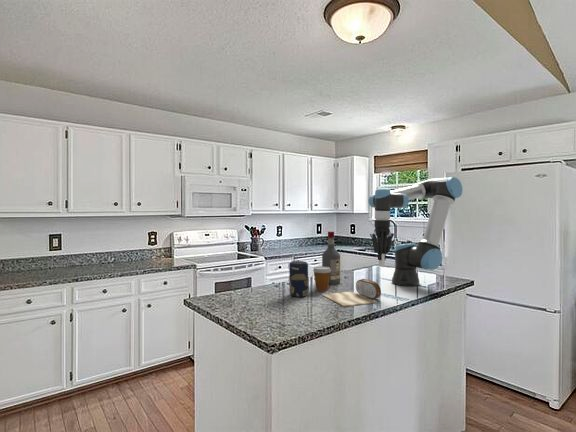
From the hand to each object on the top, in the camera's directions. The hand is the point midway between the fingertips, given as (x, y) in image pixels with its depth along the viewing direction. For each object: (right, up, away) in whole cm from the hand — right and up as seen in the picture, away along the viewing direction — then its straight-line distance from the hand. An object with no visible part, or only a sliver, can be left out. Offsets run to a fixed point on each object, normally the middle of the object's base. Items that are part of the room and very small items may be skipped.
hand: (381, 266), depth 176 cm
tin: (-8, -15, -2) cm, 17 cm away
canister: (-42, -15, +1) cm, 44 cm away
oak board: (-18, -15, -6) cm, 24 cm away
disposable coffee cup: (-29, -15, +12) cm, 35 cm away
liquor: (-22, -14, +30) cm, 40 cm away
